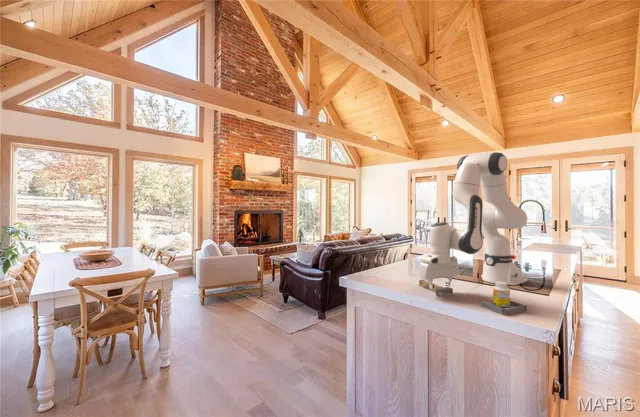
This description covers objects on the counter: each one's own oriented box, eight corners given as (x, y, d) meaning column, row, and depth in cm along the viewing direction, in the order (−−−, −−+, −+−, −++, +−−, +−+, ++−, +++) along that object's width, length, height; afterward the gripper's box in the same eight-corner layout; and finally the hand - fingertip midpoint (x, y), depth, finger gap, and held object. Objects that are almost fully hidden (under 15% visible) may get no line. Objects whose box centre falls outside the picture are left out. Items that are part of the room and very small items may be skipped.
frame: (501, 302, 118) (501, 297, 118) (526, 310, 108) (526, 305, 108) (480, 306, 114) (480, 301, 114) (504, 315, 104) (504, 310, 104)
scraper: (415, 286, 141) (415, 280, 141) (426, 285, 144) (426, 279, 144) (440, 297, 125) (440, 290, 125) (452, 295, 128) (452, 288, 128)
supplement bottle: (494, 304, 116) (494, 279, 115) (510, 307, 112) (510, 281, 112) (492, 308, 111) (492, 282, 111) (508, 311, 108) (509, 285, 108)
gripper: (451, 254, 137) (451, 282, 137) (417, 258, 129) (417, 287, 130) (462, 256, 131) (462, 286, 131) (427, 260, 124) (427, 291, 124)
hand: (439, 286), depth 130 cm, fingers open, 8 cm apart
